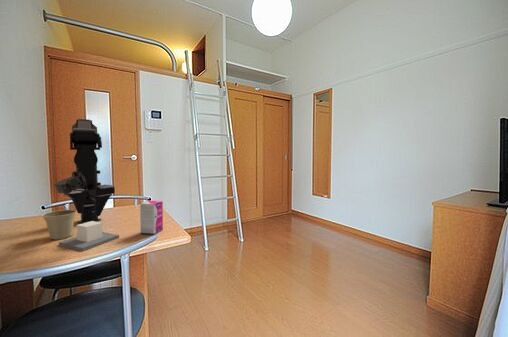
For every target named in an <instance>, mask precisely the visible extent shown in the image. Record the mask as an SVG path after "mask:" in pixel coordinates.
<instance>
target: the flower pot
mask: <svg viewBox="0 0 508 337" xmlns="http://www.w3.org/2000/svg"><path fill="white" fill-rule="evenodd" d="M76 213H78V212H77V210H76V209H61V210H54V211H53V210H52V211H50V212H46V213H44V214H42V215H41V217H43V219H44V221H45V223H46V228H47V230H48V234H49V239H50V240H57V241H58V240H62V239H63V240H64V239H66V238H68V237H72V236H73V235H74V224H75V218H76Z"/></svg>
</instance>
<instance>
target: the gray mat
mask: <svg viewBox="0 0 508 337" xmlns="http://www.w3.org/2000/svg"><path fill="white" fill-rule="evenodd" d="M119 238H120V235H119V234H116V233H115V234H114V233H109V232H105V231H102V237H101V238H98V239H95V240H92V241H89V242H84V241H80V240H77V236H75V237H71V238H68V239H65V240H64V239H63V240H62V241H58V246H59V247H60V246H61V247H65V248H70V249H73V250H76V251H80V252H84V251H87V250H90V249H92V248H95V247H98V246H102V245H105V244H106V243H109V242H113V241H115V240H118V239H119Z"/></svg>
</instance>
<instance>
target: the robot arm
mask: <svg viewBox="0 0 508 337" xmlns="http://www.w3.org/2000/svg"><path fill="white" fill-rule="evenodd" d="M102 148H103V144H102V137H101V136H100V133H98V126H96V125H95V124H94V123H93V120H91V119H86V118H78V119H76V122H75V123H74V124H73V125H71V131H70V132H69V150H70V151H75V153H74V156H73V162H74V164H75V165H74V166H75V171H74V170H73V171H72V172H71V176H70V177H66V178H64V179H62V180H59V181H57V182H55V183H54V184H53V185H54V187H55V189H56V191H57V193H58V194H63V195H64V196H66V197H68V198H70V199H71V201H72V203H73V205H74V207H75V210H76V211H77V212H76V213H77V214H80V219H79V220H77V223H79V224H83V223H87V222H90V221H95V222H100V221H101V220H102V218H99V217H100V216H101V215H102V212H103V210H104V209H105V206H106V204H107V202H108V201H109V200H110V198H111V197H112V196H113V194H115V193H116V189H115V188H116V187H115V186H114V185H113V184H102V183H101V182H99V181H98V175H99V174H101V170H98V161H99V159H98V156H97V153H96V152H95V151H101V149H102Z"/></svg>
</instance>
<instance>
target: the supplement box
mask: <svg viewBox="0 0 508 337" xmlns="http://www.w3.org/2000/svg"><path fill="white" fill-rule="evenodd" d="M163 202H164V201H162V200H146V201H143V202H141V203H139V204H140V205H139V206H140V207H139V208H140V211H139V214H140V215H139V216H140V219H139V220H140V221H139V222H140V235H149V236H154V235H157V234H159V233H160V232H162V231H163V230H164V226H163V225H164V222H163V221H164V219H163V218H164V217H163V216H164V214H163V213H164V210H163V209H164V208H163Z"/></svg>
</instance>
